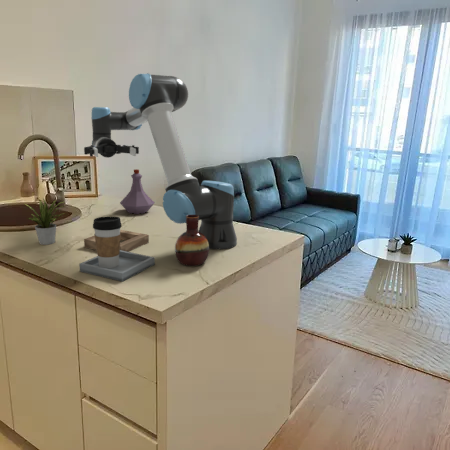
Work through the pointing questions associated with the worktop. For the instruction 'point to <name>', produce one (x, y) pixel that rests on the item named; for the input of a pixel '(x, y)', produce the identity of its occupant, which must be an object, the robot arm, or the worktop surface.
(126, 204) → the flask
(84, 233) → the worktop surface
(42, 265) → the worktop surface
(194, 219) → the vase
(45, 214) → the house plant
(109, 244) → the coffee cup
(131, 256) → the tray
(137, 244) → the square wooden frame
